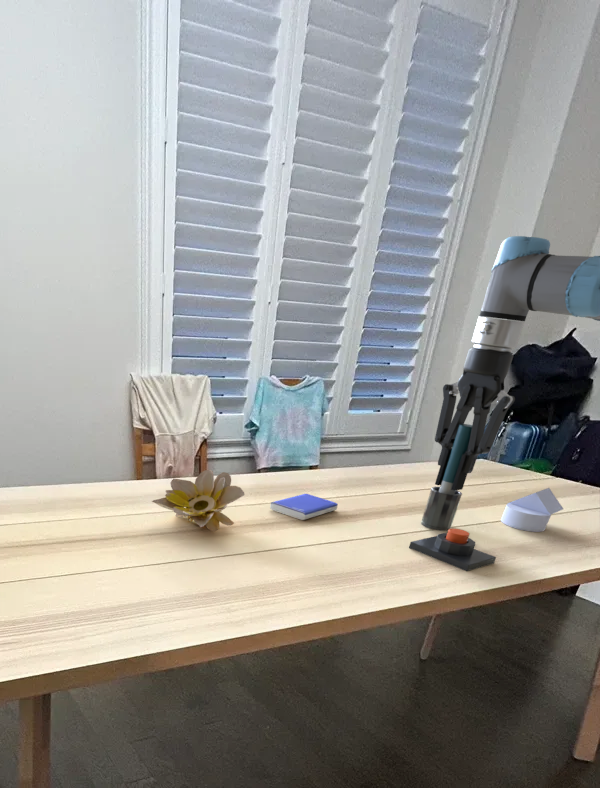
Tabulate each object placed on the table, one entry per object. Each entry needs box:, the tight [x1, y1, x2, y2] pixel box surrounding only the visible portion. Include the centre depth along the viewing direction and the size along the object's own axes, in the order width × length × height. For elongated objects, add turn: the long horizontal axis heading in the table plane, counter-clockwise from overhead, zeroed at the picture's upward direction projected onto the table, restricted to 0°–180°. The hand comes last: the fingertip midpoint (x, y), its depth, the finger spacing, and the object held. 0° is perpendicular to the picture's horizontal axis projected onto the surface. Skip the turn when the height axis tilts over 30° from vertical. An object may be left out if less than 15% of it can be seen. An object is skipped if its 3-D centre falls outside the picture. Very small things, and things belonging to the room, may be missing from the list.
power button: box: [446, 528, 470, 544], centre depth 111 cm, size 4×4×2 cm
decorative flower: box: [151, 469, 246, 532], centre depth 111 cm, size 15×11×10 cm
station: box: [408, 532, 497, 572], centre depth 112 cm, size 12×9×3 cm
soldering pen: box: [439, 423, 473, 495], centre depth 121 cm, size 3×3×14 cm
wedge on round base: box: [500, 487, 564, 533], centre depth 135 cm, size 9×7×13 cm
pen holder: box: [420, 486, 463, 532], centre depth 126 cm, size 6×6×7 cm
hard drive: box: [269, 493, 338, 521], centre depth 127 cm, size 2×8×12 cm
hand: (448, 486), depth 123 cm, fingers closed on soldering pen, 3 cm apart
